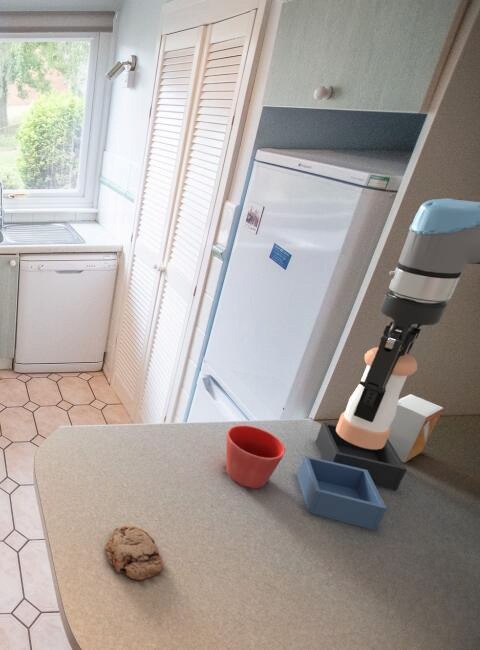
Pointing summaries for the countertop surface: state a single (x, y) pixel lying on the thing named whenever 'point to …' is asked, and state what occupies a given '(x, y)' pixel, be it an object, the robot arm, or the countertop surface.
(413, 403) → the small box
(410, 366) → the pepper shaker
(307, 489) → the blue bin
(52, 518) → the countertop surface
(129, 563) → the cookie
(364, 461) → the charcoal bin
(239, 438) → the flower pot
